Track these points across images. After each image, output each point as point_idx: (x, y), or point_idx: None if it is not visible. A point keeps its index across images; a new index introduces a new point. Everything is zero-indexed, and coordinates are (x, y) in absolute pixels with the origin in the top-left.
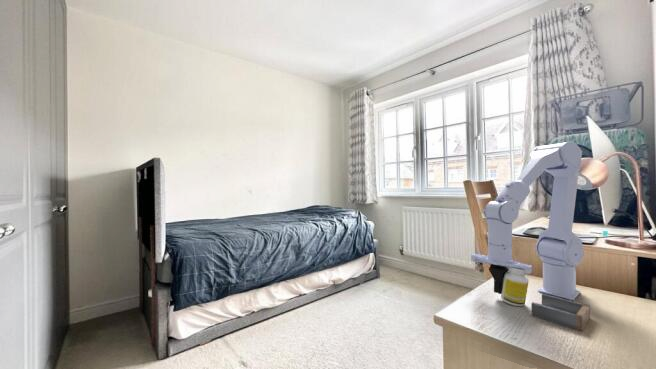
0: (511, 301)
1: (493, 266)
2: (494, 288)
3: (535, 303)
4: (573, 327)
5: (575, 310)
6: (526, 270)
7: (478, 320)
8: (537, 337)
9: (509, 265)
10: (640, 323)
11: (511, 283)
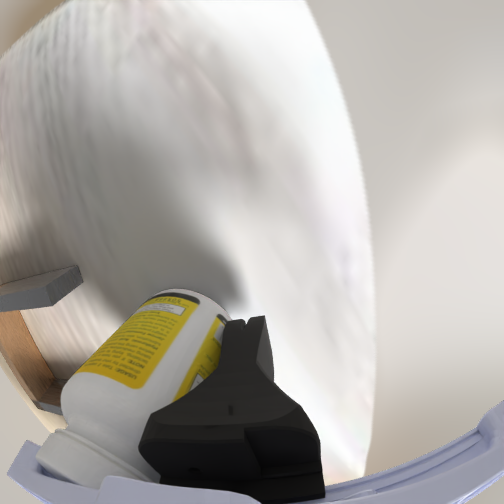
0: (156, 297)
1: (285, 478)
2: (258, 324)
3: (40, 298)
4: (7, 283)
5: (58, 389)
6: (24, 458)
7: (151, 6)
8: (10, 119)
9: (66, 491)
10: (42, 418)
11: (107, 361)
